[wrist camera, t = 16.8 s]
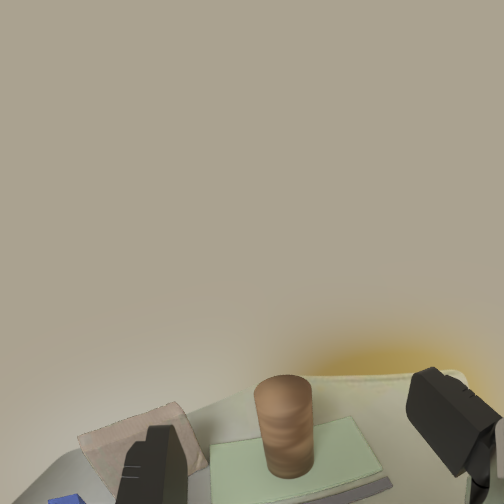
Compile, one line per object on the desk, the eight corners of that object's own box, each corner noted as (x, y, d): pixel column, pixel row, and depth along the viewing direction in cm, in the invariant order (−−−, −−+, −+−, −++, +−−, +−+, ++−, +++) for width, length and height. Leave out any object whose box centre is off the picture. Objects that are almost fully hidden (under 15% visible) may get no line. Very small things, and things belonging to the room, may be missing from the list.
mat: (212, 509, 23) (211, 507, 23) (210, 446, 32) (209, 445, 32) (382, 470, 24) (382, 468, 24) (350, 417, 34) (350, 415, 34)
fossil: (120, 506, 22) (80, 453, 20) (110, 486, 25) (74, 432, 23) (210, 466, 29) (189, 410, 27) (195, 450, 32) (174, 394, 30)
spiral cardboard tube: (271, 483, 25) (258, 414, 23) (263, 451, 30) (250, 380, 28) (319, 472, 26) (318, 401, 24) (307, 441, 31) (302, 370, 29)
